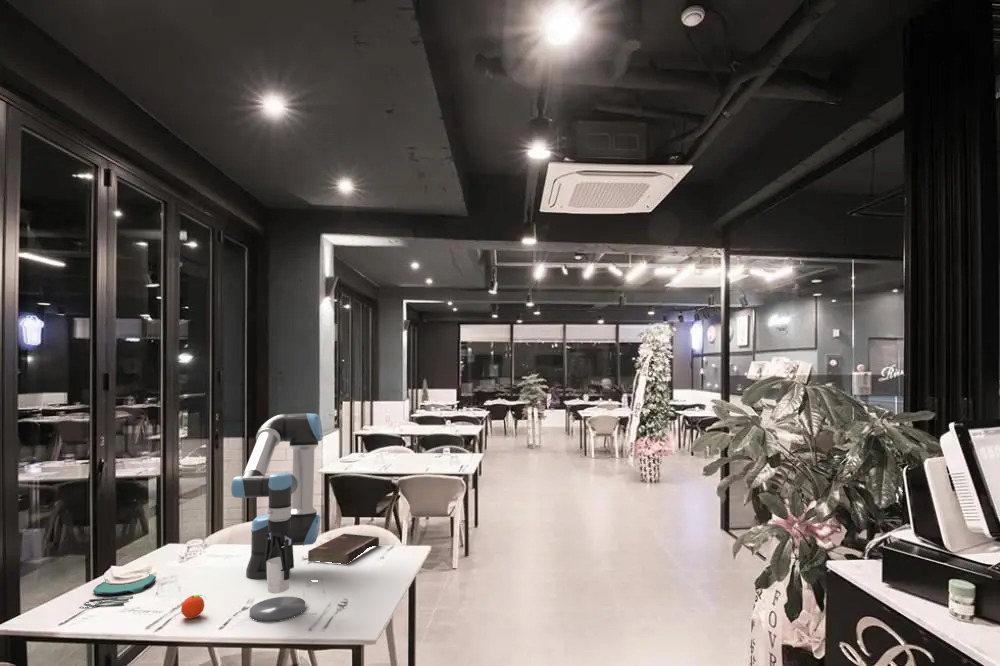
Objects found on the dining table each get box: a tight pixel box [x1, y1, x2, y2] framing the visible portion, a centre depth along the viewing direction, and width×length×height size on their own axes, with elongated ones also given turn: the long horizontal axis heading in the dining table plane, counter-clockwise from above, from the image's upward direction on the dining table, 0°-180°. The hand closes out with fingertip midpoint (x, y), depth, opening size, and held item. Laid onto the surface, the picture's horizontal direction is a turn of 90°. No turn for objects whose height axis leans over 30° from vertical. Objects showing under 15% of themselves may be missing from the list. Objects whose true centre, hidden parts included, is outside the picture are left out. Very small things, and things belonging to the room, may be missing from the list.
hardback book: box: [307, 533, 380, 565], centre depth 264 cm, size 29×19×5 cm, turn 163°
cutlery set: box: [78, 573, 157, 609], centre depth 219 cm, size 20×30×2 cm, turn 8°
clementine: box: [180, 594, 207, 619], centre depth 196 cm, size 8×7×7 cm
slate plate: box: [249, 596, 307, 623], centre depth 200 cm, size 18×18×2 cm
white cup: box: [266, 557, 291, 594], centre depth 200 cm, size 8×8×10 cm
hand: (278, 586), depth 200 cm, fingers closed on white cup, 8 cm apart
